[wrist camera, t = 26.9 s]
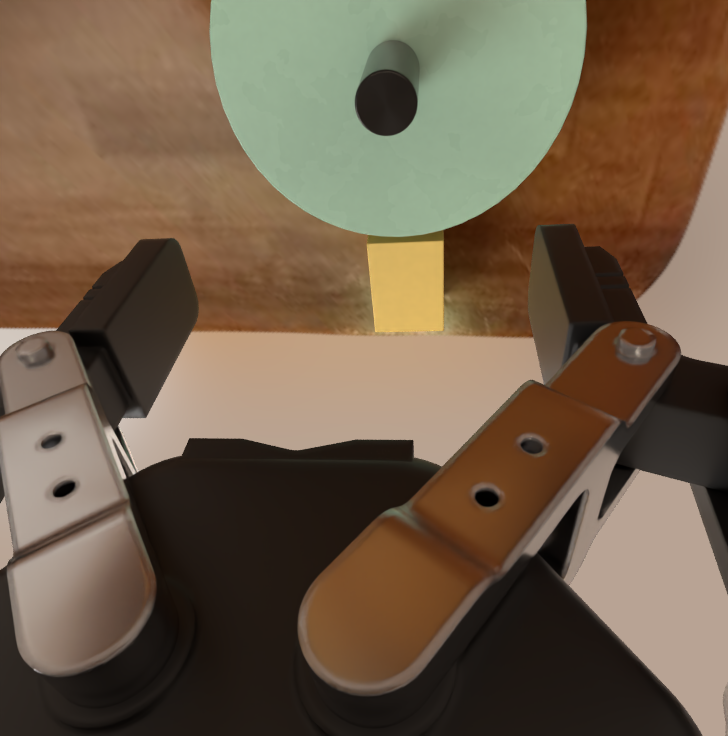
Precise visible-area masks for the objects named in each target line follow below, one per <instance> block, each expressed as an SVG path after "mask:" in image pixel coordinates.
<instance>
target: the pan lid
mask: <svg viewBox="0 0 728 736" xmlns="http://www.w3.org/2000/svg"><path fill="white" fill-rule="evenodd" d="M586 32H587V14H586V0H211V14H210V44H211V58H212V64H213V69H214V75H215V80H216V85H217V88H218V92H219V95H220V98H221V102H222V105H223V108H224V110H225V113H226V115H227V118H228V120H229V122H230V125H231V127H232V129H233V131H234V133H235V135H236V137H237V138H238V140H239V142H240V144H241V145H242V147H243V149H244V151H245V152H246V154H247V155H248V156H249V158H250V159H251V160H252V162H253V163H254V165H255V166H256V167H257V169H258V170H259V171H260V172H261V173H262V174H263V176H264V177H265V178H266V179H267V180H268V181H269V182H270V183H271V184H272V185H273V186H274V187H275V188H276V189H277V190H278V191H279V192H281V193H282V194H283V195H284V196H285V197H286V198H287V199H288V200H290V201H291V202H293V203H294V204H296V205H297V206H299V207H300V208H301V209H303V210H304V211H306V212H308V213H309V214H311V215H313V216H315V217H317V218H319V219H321V220H323V221H325V222H327V223H330V224H332V225H335V226H337V227H340V228H342V229H346V230H350V231H354V232H358V233H361V234H368V235H375V236H385V237H405V236H415V235H423V234H428V233H432V232H437V231H441V230H444V229H447V228H450V227H453V226H456V225H458V224H461V223H463V222H465V221H467V220H469V219H472V218H474V217H476V216H478V215H480V214H481V213H483V212H485V211H486V210H488V209H489V208H491V207H492V206H494V205H495V204H497V203H499V202H500V201H501V200H502V199H503V198H505V197H506V196H507V195H508V194H510V193H511V192H512V191H513V190H515V189H516V188H517V187H518V186H519V185H520V184H521V183H522V182H523V181H524V180H525V179H526V177H527V176H528V175H529V174H530V173H531V172H532V171H533V170H534V169H535V167H536V166H537V165H538V163H539V162H540V161H541V160H542V158H543V157H544V156H545V154H546V153H547V152H548V150H549V148H550V147H551V145H552V143H553V142H554V140H555V138H556V137H557V135H558V134H559V132H560V130H561V128H562V126H563V123H564V121H565V119H566V117H567V115H568V113H569V110H570V108H571V105H572V102H573V99H574V96H575V93H576V90H577V87H578V84H579V80H580V75H581V70H582V66H583V61H584V56H585V45H586Z"/></svg>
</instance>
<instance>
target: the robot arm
mask: <svg viewBox="0 0 728 736" xmlns="http://www.w3.org/2000/svg"><path fill="white" fill-rule="evenodd" d="M83 299H84V300H81V301H80V302H79V303H78V305H77V306H76V307H75V308H74V309H73V311H72V312H71V313H70V314H69V316H68V317H67V318H66V319H65V320H64V322H63V323H62V324H61V325H60V327H59V328H58V329H57V330H56V331H46V332H41V333H37V334H33V335H30V336H28V337H26V338H23V339H21V340H19V341H17V342H16V343H14V344H13V345H11V346H10V347H9V348H7V350H5V351H4V352H3V353H2V354H1V356H0V503H1V501H2V500H3V498H4V496H5V500H6V506H7V512H8V519H9V524H10V531H11V537H12V544H13V552H14V553H13V557H12V559H10V560H9V562H8V564H7V566H5V567H4V568H3V569H1V570H0V736H702V734H701V732H700V731H699V729H698V727H697V726H696V724H695V723H694V721H693V719H692V718H691V716H690V715H689V714H688V712H687V711H686V710H685V708H684V707H683V706H682V704H681V703H680V702H679V701H678V699H677V698H676V697H675V696H674V695H673V694H672V693H671V692H670V691H669V689H668V688H667V687H666V686H665V685H664V684H663V683H662V682H661V681H660V680H659V679H658V678H657V677H656V676H655V675H654V674H653V673H652V672H651V671H650V670H649V669H648V668H647V666H645V664H644V663H643V662H642V661H641V660H640V659H639V658H638V657H637V656H636V655H635V654H634V653H633V652H632V651H631V650H630V649H629V648H628V647H627V646H626V645H625V644H624V643H623V642H622V640H620V639H619V638H618V636H617V635H616V634H615V633H614V632H613V631H612V630H611V629H610V628H609V627H608V626H607V625H606V624H605V623H604V622H603V621H602V620H601V619H600V618H599V617H598V616H597V614H596V613H595V612H594V611H593V610H592V609H591V608H590V607H589V606H588V605H587V604H586V603H585V602H584V601H583V600H582V599H581V598H580V597H579V596H578V595H577V594H576V593H575V592H574V591H573V590H572V588H570V586H569V585H570V583H571V582H572V580H573V579H574V577H575V575H576V574H577V572H578V570H579V568H580V567H581V565H582V563H583V561H584V559H585V557H586V555H587V552H588V550H589V548H590V546H591V544H592V542H593V540H594V538H595V537H596V535H597V533H598V532H599V530H600V529H601V528H602V526H603V525H604V523H605V522H606V520H607V519H608V517H609V516H610V514H611V513H612V511H613V510H614V508H615V507H616V505H617V504H618V502H619V501H620V499H621V498H622V496H623V495H624V494H625V492H626V491H627V489H628V487H629V486H630V484H631V483H632V482H633V480H634V479H635V477H636V476H637V474H638V473H639V471H640V470H642V471H646V472H650V473H654V474H658V475H661V476H665V477H669V478H673V479H677V480H681V481H685V482H688V483H690V486H691V489H692V491H693V494H694V497H695V500H696V503H697V506H698V509H699V512H700V515H701V518H702V521H703V524H704V526H705V529H706V532H707V535H708V538H709V541H710V544H711V547H712V549H713V553H714V556H715V559H716V561H717V565H718V567H719V570H720V573H721V576H722V579H723V582H724V585H725V588H726V591H727V594H728V366H725V365H721V364H715V363H710V362H705V361H699V360H695V359H692V358H689V357H685V356H683V355H681V349H680V346H679V344H678V343H677V342H676V340H675V339H674V338H673V337H672V336H671V335H670V334H668V333H667V332H665V331H663V330H661V329H660V328H657V327H655V326H652V325H649V324H647V322H646V320H645V318H644V316H643V314H642V311H641V309H640V307H639V305H638V303H637V301H636V299H635V297H634V295H633V293H632V291H631V288H629V284H628V282H627V280H626V278H625V276H623V272H622V270H621V268H620V265H619V263H618V261H617V259H616V258H615V257H613V256H612V255H611V254H609V253H608V252H607V251H605V250H604V249H603V248H601V247H600V246H597V247H584V245H583V243H582V240H581V238H580V235H579V233H578V230H577V228H576V226H575V224H559V225H538V226H537V228H536V232H535V238H534V247H533V255H532V264H531V272H530V281H529V290H528V311H529V318H530V323H531V327H532V332H533V336H534V341H535V345H536V350H537V354H538V359H539V363H540V368H541V373H542V377H543V381H544V385H543V384H541V383H539V382H536V381H534V380H529V381H527V382H525V383H524V384H523V385H522V386H520V388H519V389H518V390H517V391H516V392H515V393H514V394H513V395H512V396H511V397H510V398H509V399H508V400H507V401H506V402H505V403H504V404H503V405H502V406H501V407H500V408H499V409H498V410H497V411H496V412H495V413H494V414H493V415H492V416H491V417H490V418H489V419H488V420H487V421H486V422H485V423H484V425H483V426H482V427H481V428H480V429H479V430H478V431H477V432H476V433H475V434H474V435H473V436H472V437H471V438H470V439H469V440H468V441H467V442H466V443H465V444H464V445H463V446H462V447H461V448H460V449H459V450H458V451H457V452H456V453H455V454H454V455H453V456H452V457H451V458H450V459H449V460H448V461H447V462H446V463H445V465H444V466H442V467H441V466H439V465H437V464H434V463H431V462H429V461H426V460H422V459H418V458H414V446H413V440H352V441H347V442H342V443H336V444H331V445H326V446H320V447H315V448H310V449H304V450H298V451H297V450H289V449H284V448H280V447H276V446H271V445H267V444H262V443H258V442H254V441H249V440H245V439H207V438H205V439H204V438H202V439H201V438H190V439H189V440H188V443H187V445H186V447H185V450H184V452H183V454H182V456H178V457H174V458H171V459H168V460H164V461H161V462H159V463H156V464H154V465H151V466H149V467H147V468H145V469H143V470H141V471H138V469H137V466H136V464H135V462H134V459H133V457H132V454H131V452H130V450H129V447H128V445H127V442H126V440H125V438H124V435H123V433H122V431H121V429H120V427H119V426H118V425H119V423H120V421H121V419H122V418H146V417H147V415H148V413H149V411H150V409H151V407H152V405H153V403H154V402H155V400H156V398H157V396H158V394H159V392H160V390H161V388H162V386H163V384H164V382H165V380H166V379H167V377H168V375H169V373H170V371H171V369H172V367H173V365H174V363H175V361H176V359H177V358H178V356H179V354H180V352H181V350H182V348H183V346H184V344H185V342H186V340H187V339H188V337H189V335H190V333H191V331H192V329H193V327H194V325H195V323H196V321H197V318H198V299H197V295H196V292H195V288H194V285H193V282H192V279H191V276H190V273H189V270H188V267H187V264H186V261H185V258H184V255H183V252H182V249H181V247H180V245H179V243H178V242H177V241H176V240H175V239H173V238H166V239H142V240H140V241H139V242H138V243H137V244H136V245H135V246H134V248H133V249H132V250H131V251H130V253H129V254H128V255H127V257H126V258H125V259H124V260H123V261H121V262H119V263H118V264H116V265H115V266H113V267H112V268H110V269H109V270H107V271H106V272H104V273H103V274H102V275H101V277H100V278H99V279H98V280H97V281H96V283H95V284H94V285H93V286H92V289H90V290H89V291H88V292H87V294H86V295H85V296H84V297H83ZM723 706H724V714H725V721H726V735H725V736H728V683H727V685H726V687H725V691H724V695H723Z"/></svg>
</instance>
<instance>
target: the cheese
mask: <svg viewBox="0 0 728 736" xmlns="http://www.w3.org/2000/svg"><path fill="white" fill-rule="evenodd" d="M367 252H368V262H369V273H370V283H371V293H372V303H373V314H374V324H375V332H409V331H443V330H444V232H443V230H441V231H437V232H432V233H428V234H423V235H415V236H405V237H385V236H375V235H368V240H367Z"/></svg>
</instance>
